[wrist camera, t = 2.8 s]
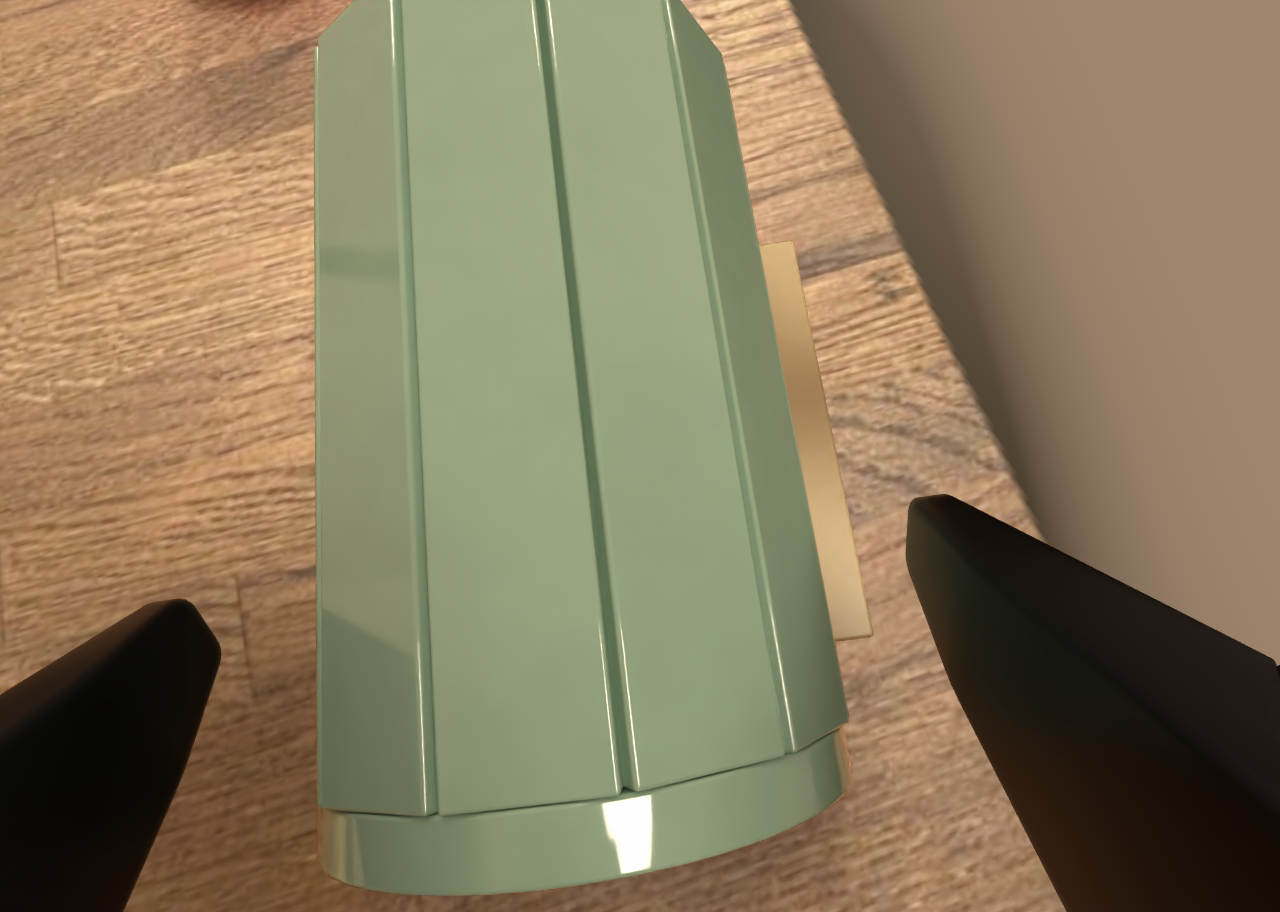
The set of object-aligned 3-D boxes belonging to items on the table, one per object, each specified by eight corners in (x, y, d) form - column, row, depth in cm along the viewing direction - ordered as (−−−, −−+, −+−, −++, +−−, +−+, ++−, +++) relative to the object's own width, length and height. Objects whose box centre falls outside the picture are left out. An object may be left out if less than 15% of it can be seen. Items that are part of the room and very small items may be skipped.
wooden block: (818, 631, 18) (875, 636, 12) (464, 677, 18) (353, 703, 12) (766, 351, 20) (793, 239, 14) (448, 400, 20) (346, 311, 14)
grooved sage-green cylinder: (808, 727, 13) (932, 851, 6) (445, 771, 13) (163, 932, 6) (718, 214, 15) (730, -109, 9) (420, 263, 16) (205, -8, 9)
